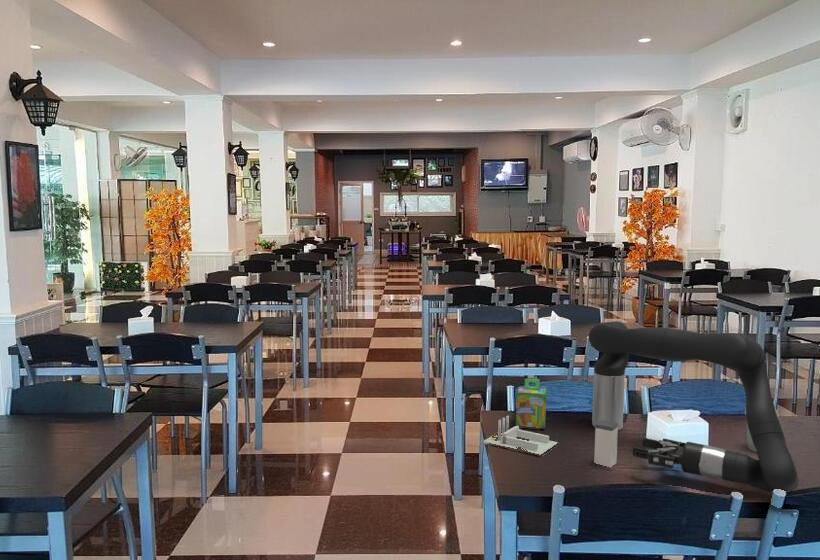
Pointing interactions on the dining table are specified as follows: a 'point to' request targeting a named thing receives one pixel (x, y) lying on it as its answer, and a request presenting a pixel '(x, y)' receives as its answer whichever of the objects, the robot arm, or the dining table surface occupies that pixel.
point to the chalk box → (531, 405)
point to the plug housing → (606, 443)
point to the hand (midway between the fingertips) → (638, 446)
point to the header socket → (508, 439)
